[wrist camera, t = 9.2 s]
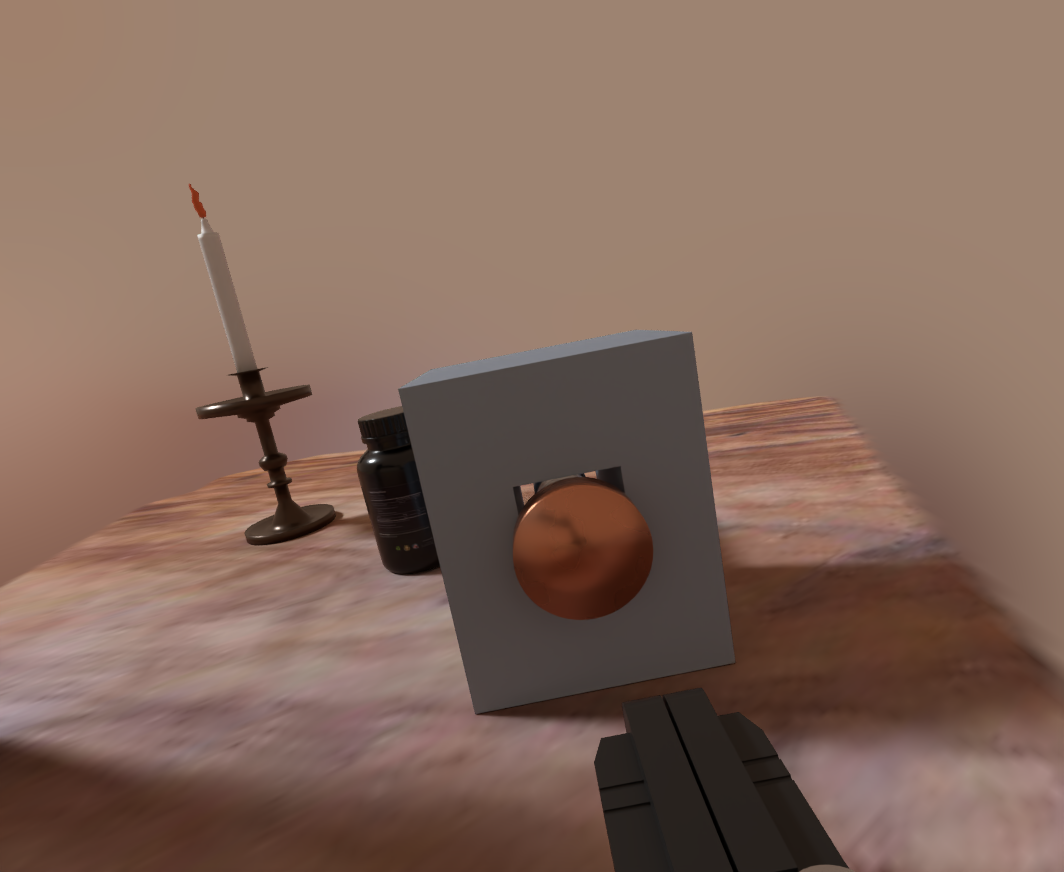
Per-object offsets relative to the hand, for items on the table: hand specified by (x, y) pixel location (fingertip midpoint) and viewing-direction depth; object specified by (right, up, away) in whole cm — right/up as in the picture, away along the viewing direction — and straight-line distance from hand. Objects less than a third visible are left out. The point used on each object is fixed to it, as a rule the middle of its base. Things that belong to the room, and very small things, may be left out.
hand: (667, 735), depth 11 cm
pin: (0, 0, +22) cm, 22 cm away
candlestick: (-28, -4, +51) cm, 58 cm away
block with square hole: (+1, -5, +20) cm, 21 cm away
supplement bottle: (-11, -4, +35) cm, 37 cm away
